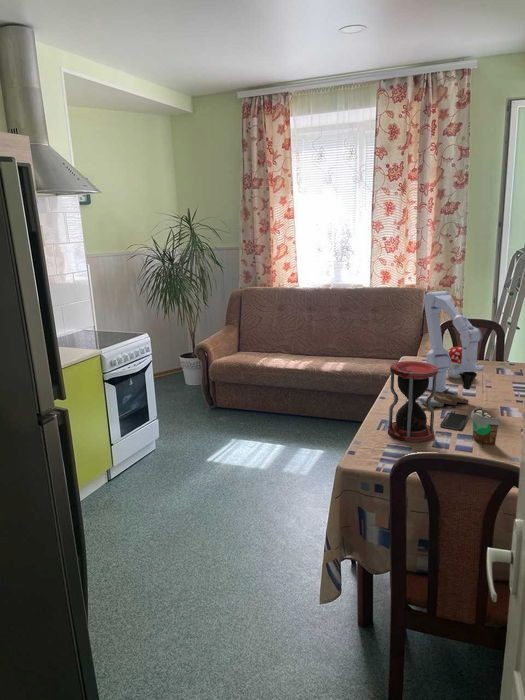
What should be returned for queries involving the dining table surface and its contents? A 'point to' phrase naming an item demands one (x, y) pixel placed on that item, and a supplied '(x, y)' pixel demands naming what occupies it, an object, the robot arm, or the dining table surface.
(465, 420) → the phone
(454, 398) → the domino
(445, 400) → the domino
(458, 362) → the decorative mushroom
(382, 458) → the dining table surface
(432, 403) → the domino
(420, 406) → the domino
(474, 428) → the food container
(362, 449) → the dining table surface
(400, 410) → the hourglass
